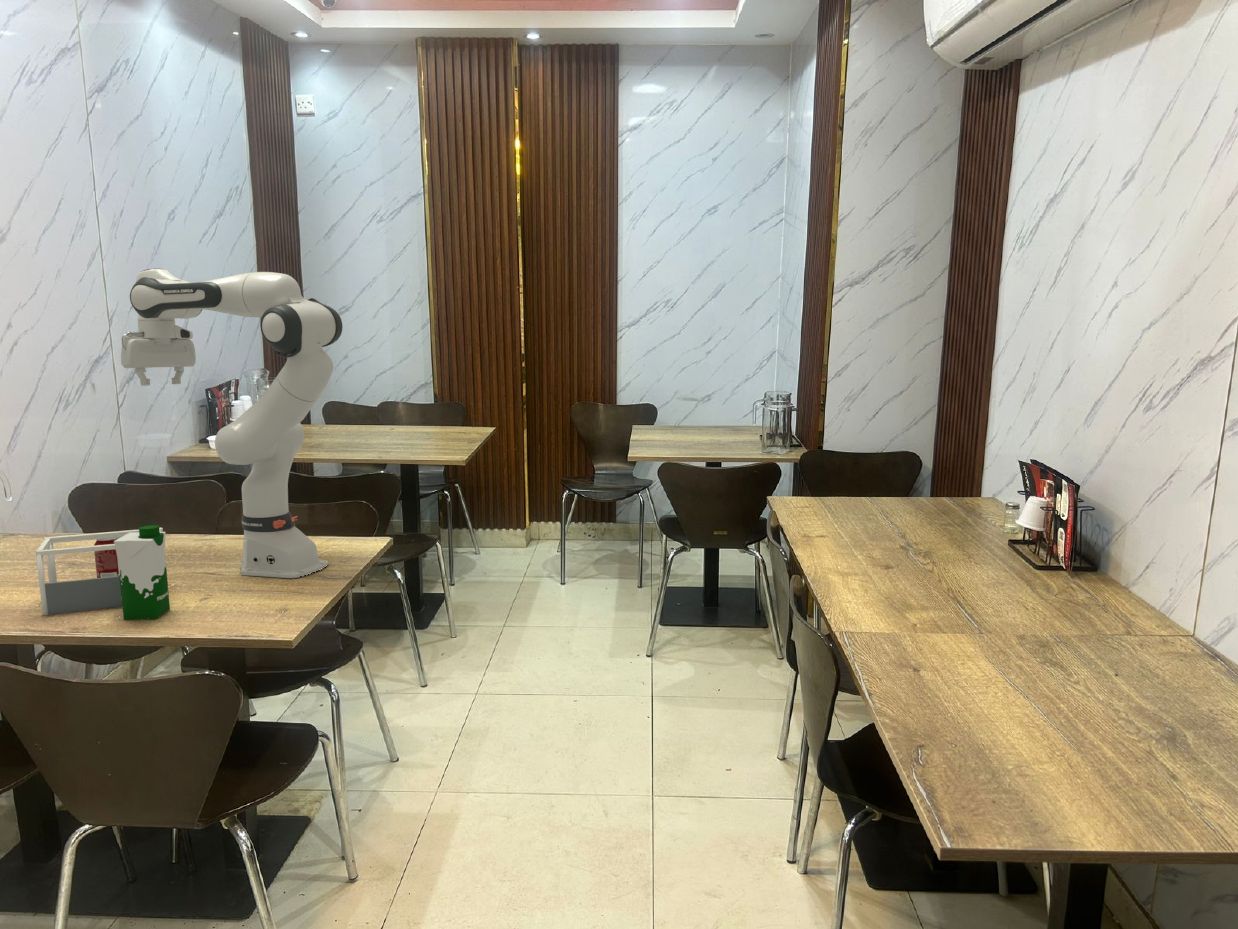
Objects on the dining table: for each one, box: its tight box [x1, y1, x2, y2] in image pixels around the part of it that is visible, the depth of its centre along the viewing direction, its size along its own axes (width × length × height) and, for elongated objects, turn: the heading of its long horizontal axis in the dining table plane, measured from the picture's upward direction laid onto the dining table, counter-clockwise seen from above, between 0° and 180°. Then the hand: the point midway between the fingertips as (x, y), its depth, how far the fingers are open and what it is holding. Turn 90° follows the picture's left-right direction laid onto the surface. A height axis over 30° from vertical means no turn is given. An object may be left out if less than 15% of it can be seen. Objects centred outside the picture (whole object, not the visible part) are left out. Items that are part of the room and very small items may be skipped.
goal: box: [35, 527, 164, 616], centre depth 215 cm, size 13×25×15 cm, turn 113°
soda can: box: [93, 537, 121, 578], centre depth 227 cm, size 7×7×12 cm
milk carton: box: [114, 524, 171, 621], centre depth 205 cm, size 9×9×20 cm
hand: (161, 384), depth 246 cm, fingers open, 8 cm apart
